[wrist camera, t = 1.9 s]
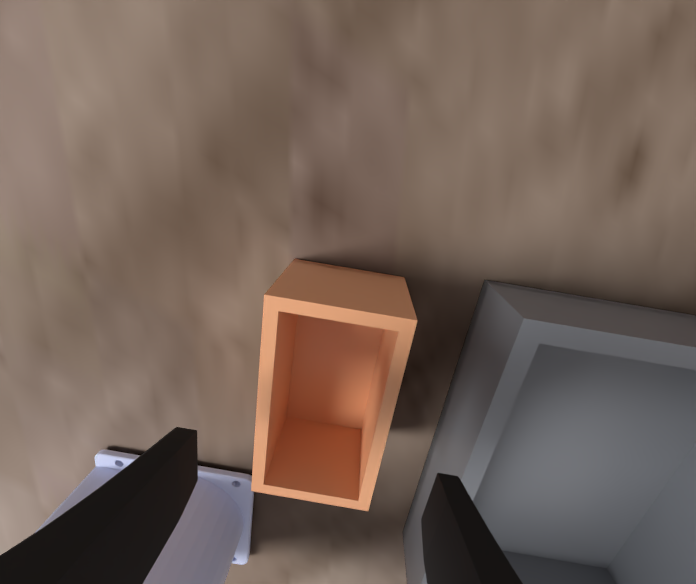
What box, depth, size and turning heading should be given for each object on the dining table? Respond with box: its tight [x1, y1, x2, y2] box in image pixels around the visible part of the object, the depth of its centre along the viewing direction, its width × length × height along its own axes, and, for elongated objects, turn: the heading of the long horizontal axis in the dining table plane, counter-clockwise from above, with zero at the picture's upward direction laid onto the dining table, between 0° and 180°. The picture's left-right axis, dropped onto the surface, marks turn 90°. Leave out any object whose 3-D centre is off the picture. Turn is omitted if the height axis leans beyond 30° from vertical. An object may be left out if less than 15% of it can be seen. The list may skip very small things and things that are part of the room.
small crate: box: [251, 259, 418, 511], centre depth 14 cm, size 5×9×4 cm, turn 171°
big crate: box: [403, 280, 696, 584], centre depth 16 cm, size 13×17×4 cm
